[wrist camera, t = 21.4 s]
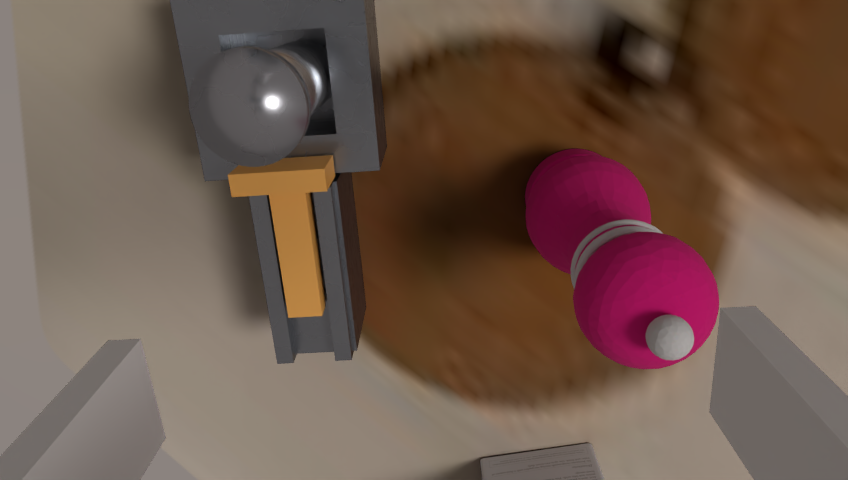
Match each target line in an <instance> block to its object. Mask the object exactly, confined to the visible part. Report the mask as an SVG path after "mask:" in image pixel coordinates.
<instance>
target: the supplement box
mask: <svg viewBox="0 0 848 480" xmlns="http://www.w3.org/2000/svg"><path fill="white" fill-rule="evenodd" d="M480 464H481V472H482V480H604V477H603V474H602V471H601V469H600V466H599V463H598V461H597V458H596V455H595V452H594V449H593V446H592V444H590V443H585V444H579V445H572V446H565V447H558V448H551V449H544V450H537V451H530V452H523V453H516V454H509V455H503V456H496V457H489V458H483V459H481V460H480Z"/></svg>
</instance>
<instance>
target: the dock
mask: <svg viewBox="0 0 848 480" xmlns="http://www.w3.org/2000/svg"><path fill="white" fill-rule="evenodd" d="M170 4H171V9H172V14H173V19H174V24H175V29H176V35H177V40H178V45H179V50H180V55H181V60H182V66H183V71H184V76H185V81H186V86H187V91H188V96H189V92H190V87H191V84H192V81H193V79H194V76H195V74H196V73H197V71H198V70H199V68H200V67H201V66H202V65H203V64H204V63H205V62H206V61H207V60H208V59H209V58H211V57H212V56H214V55H215V54H217V53H220V52H222V51H225V50H228V49H232V48H236V47H241V46H256V47H262V48H265V49H271V48H274V47H277V46H280V45H283V44H286V43H289V42H292V41H296V40H311V41H314V42H317V43H319V44H321V45H322V46H324V47H325V48H326V49H327V56H328V64H329V73H330V82H331V90H332V95H331V97H330V98H329V99H328V100H327V101H326V102H325V103H324V104H323V105H322V106H320V107H319V108H318V109H317V110H316V111H315V112H314V113H313V114H312V115H311V118H310V122H309V126H308V129H307V131H306V133H305V135H304V137H303V139H302V140H301V141H300V143H299V144H298V145H297V146H296V147H295V148H294V149H293V150H292V151H291V153H289V154H288V155H287V156H286V157H284V158H293V157H309V156H325V155H333V161H334V170H335V177H334V179H333V181H332V183H331V185H330V187H329V189H328V191H325V192H311V198H312V205H313V213H314V220H315V228H316V235H317V243H318V250H319V257H320V265H321V272H322V280H323V287H324V294H325V302H326V307H325V309H324V312H323V315H322V316H313V317H295V318H288V312H287V306H286V299H285V293H284V287H283V281H282V274H281V268H280V262H279V255H278V249H277V243H276V237H275V230H274V224H273V218H272V211H271V205H270V199H269V195H259V196H249V200H250V206H251V212H252V218H253V224H254V230H255V236H256V241H257V247H258V253H259V259H260V265H261V271H262V277H263V282H264V288H265V294H266V300H267V306H268V312H269V318H270V323H271V329H272V335H273V341H274V347H275V353H276V359H277V364H281V363H294V360H295V357H296V355H297V353H316V352H334V353H335V361H339V360H352V356H353V352H354V351H355V350H357V348H358V343H359V338H360V334H361V329H362V324H363V320H364V315H365V310H366V301H365V292H364V283H363V274H362V265H361V255H360V246H359V237H358V228H357V219H356V210H355V201H354V192H353V183H352V174H351V172H359V171H376V170H380V168H381V165H382V161H383V158H384V155H385V151H386V148H387V141H386V130H385V119H384V107H383V96H382V85H381V74H380V62H379V51H378V40H377V28H376V17H375V6H374V0H170ZM195 132H196V130H195ZM196 138H197V143H198V148H199V153H200V158H201V163H202V168H203V174H204V179H205V181H214V180H229V179H228V174H229V173H230V172H231V171H233V170H234V169H235V168H236V167H237V166H238V165H237V164H234V163H231V162H229V161H227V160H225V159H223V158H221V157H219V156H218V155H217V154H215V153H214V152H213V151H212V150H210V149H209V148H208V147H207V146H206V144H205V143H204V142H203V141H202V140H201V138H200V137H199V135H198V133H197V132H196Z"/></svg>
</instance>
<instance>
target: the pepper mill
mask: <svg viewBox="0 0 848 480" xmlns="http://www.w3.org/2000/svg"><path fill="white" fill-rule="evenodd" d="M525 203H526V226H527V230H528V234H529V237H530V239H531V241H532V243H533V244H534V246H535V247H536V249H537V250H538V251H539V253H540V254H541V255H542V257H543V258H544V259H545V260H547V261H548V262H549V263H550V264H551V265H553V266H554V267H556V268H558V269H560V270H561V271H563V272H566V273H568V274H571V279H572V284H573V287H574V295H573V301H574V309H575V314H576V318H577V321H578V323H579V326H580V328H581V330H582V332H583V333H584V335H585V336H586V338H587V339H588V340H589V341H590V343H591V344H592V345H593V346H594V347H595V348H596V349H597V350H598V351H600V352H601V353H602V354H603V355H604V356H606V357H608V358H610V359H611V360H613V361H615V362H617V363H619V364H622V365H625V366H628V367H632V368H638V369H659V368H663V367H667V366H670V365H673V364H675V363H678V362H680V361H682V360H684V359H686V358H687V357H689V356H690V355H692V354H693V353H694V352H695V351H696V350H697V349H699V348H700V347H701V346H702V345H703V343H704V342H705V341H706V339H707V338H708V337H709V335H710V333H711V331H712V329H713V327H714V325H715V323H716V318H717V314H718V310H719V295H718V289H717V283H716V281H715V279H714V276H713V274H712V272H711V270H710V269H709V267H708V266H707V264H706V263H705V261H704V259H703V258H702V257H701V256H700V255H699V254H698V253H697V252H696V251H695V250H694V249H693V248H692V247H690V246H689V245H687V244H685V243H684V242H682V241H680V240H679V239H677V238H675V237H673V236H669V235H666V234H663V233H662V232H661V231H660V230H659V229H657V228H656V227H654V226H652V225H651V212H650V205H649V201H648V198H647V194H646V192H645V190H644V189H643V187H642V185H641V184H640V182H639V181H638V179H637V178H636V177H635V176H634V174H633V173H632V172H631V171H630V170H629V169H627V168H626V167H625V166H624V165H622V164H620V163H618V162H616V161H615V160H612V159H609V158H606V157H602V156H601V155H599V154H597V153H595V152H592V151H589V150H584V149H568V150H563V151H560V152H557V153H555V154H553V155H551V156H549V157H547V158H546V159H545V160H543V161H542V162H541V163H540V164H539V165H538V166H537V167H536V169H535V170H534V171H533V173H532V174H531V176H530V178H529V181H528V183H527V187H526V192H525Z"/></svg>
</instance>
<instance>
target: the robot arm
mask: <svg viewBox="0 0 848 480" xmlns="http://www.w3.org/2000/svg"><path fill="white" fill-rule="evenodd" d="M709 412H710V414H711V415H712V417H713V418H714V420H715V421H716V423H717V424H718V426H719V427H720V429H721V430H722V432H723V433H724V435H725V436H726V438H727V439H728V441H729V442H730V444H731V446H732V447H733V449H734V450H735V452H736V453H737V455H738V456H739V458H740V459H741V461H742V462H743V464H744V465H745V467H746V468H747V470H748V471H749V473H750V474H751V476H752V478H753V479H754V480H848V396H847V395H846V394H845V393H844V392H843V391H842V390H841V389H840V388H839V387H838V386H837V385H836V384H835V383H834V382H833V381H832V380H831V379H830V378H829V377H828V376H827V375H826V374H825V373H824V372H823V371H821V370H820V369H819V368H818V367H817V366H816V365H815V364H814V363H813V362H812V361H811V360H810V359H809V358H808V357H807V356H806V355H805V354H804V353H803V352H802V351H801V350H800V349H799V348H798V347H797V346H796V345H795V344H794V343H793V342H792V341H791V340H790V339H789V338H788V337H787V336H786V335H785V334H784V333H783V332H782V331H781V330H780V329H779V328H777V327H776V326H775V325H774V324H773V323H772V322H771V321H770V320H769V319H768V318H767V317H766V316H765V315H764V314H763V313H762V312H761V311H760V310H759V309H758V308H757V307H756V306H748V307H729V308H720V318H719V327H718V336H717V346H716V355H715V364H714V374H713V383H712V392H711V402H710V411H709ZM165 438H166V437H165V433H164V429H163V425H162V421H161V417H160V413H159V409H158V405H157V401H156V397H155V393H154V389H153V385H152V381H151V378H150V374H149V370H148V366H147V362H146V358H145V354H144V350H143V346H142V342H141V339H127V340H108V341H107V342H106V343H105V344H104V345H103V346H102V347H101V349H100V350H99V351H98V352H97V353H96V354H95V355H94V356H93V357H92V358H91V359H90V360H89V361H88V362H87V364H86V365H85V366H84V367H83V368H82V369H81V370H80V371H79V372H78V373H77V374H76V375H75V376H74V378H73V379H72V380H71V381H70V382H69V383H68V384H67V385H66V386H65V387H64V388H63V389H62V390H61V391H60V393H59V394H58V395H57V396H56V397H55V398H54V399H53V400H52V401H51V402H50V403H49V404H48V405H47V406H46V408H45V409H44V410H43V411H42V412H41V413H40V414H39V415H38V416H37V417H36V418H35V419H34V420H33V422H32V423H31V424H30V425H29V426H28V427H27V428H26V429H25V430H24V431H23V432H22V433H21V435H19V437H18V438H17V439H16V440H15V441H14V442H13V443H12V444H11V445H10V446H9V447H8V448H7V449H6V451H5V452H4V453H3V454H2V455H1V456H0V480H141V478H142V476H143V475H144V473H145V471H146V470H147V468H148V466H149V465H150V463H151V461H152V459H153V458H154V456H155V455H156V453H157V451H158V450H159V448H160V446H161V445H162V443H163V441H164V440H165Z"/></svg>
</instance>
